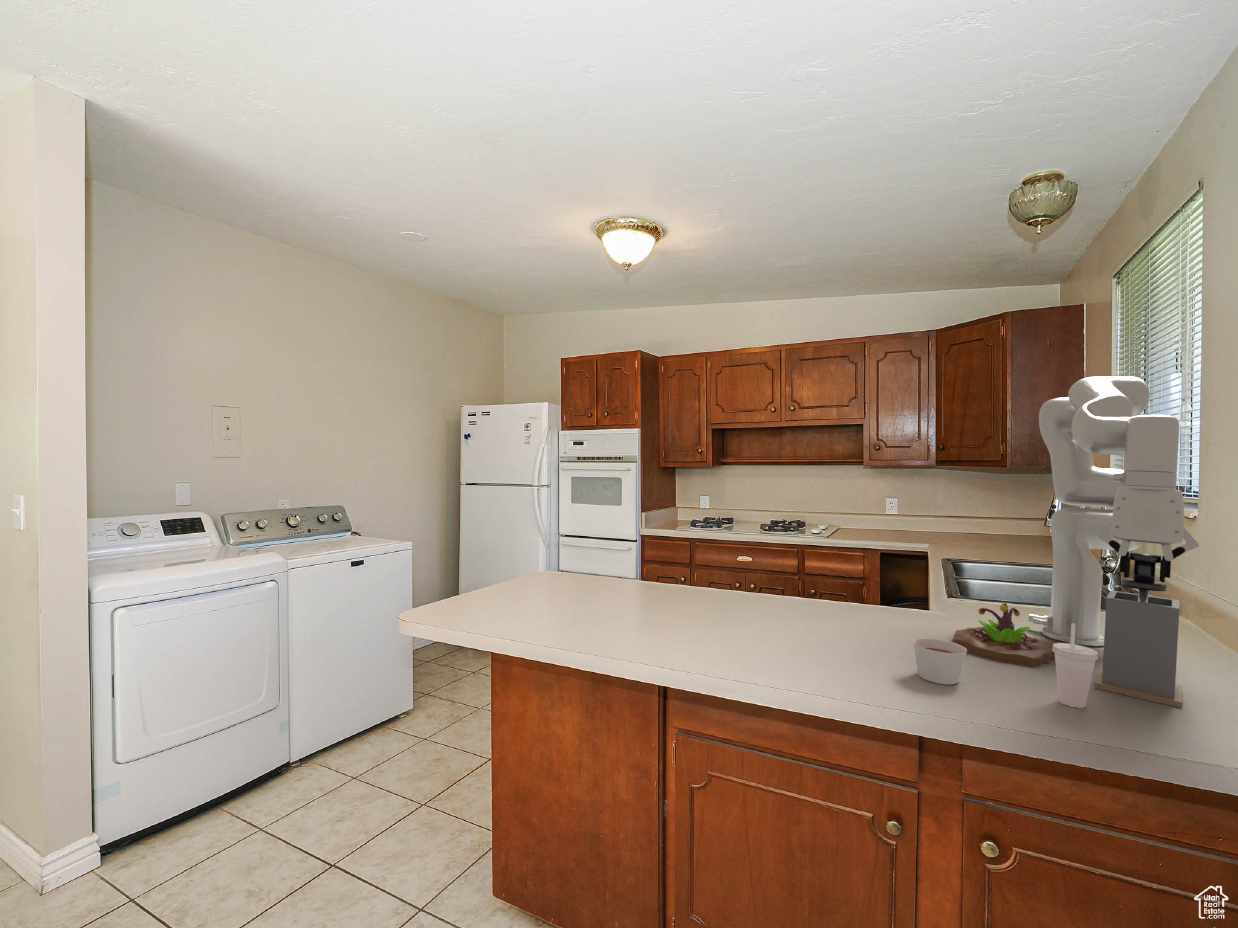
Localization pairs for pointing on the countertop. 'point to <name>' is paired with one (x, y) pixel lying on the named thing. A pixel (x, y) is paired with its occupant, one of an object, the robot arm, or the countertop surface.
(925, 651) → the candle
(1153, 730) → the countertop surface
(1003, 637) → the plant
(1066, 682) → the smoothie
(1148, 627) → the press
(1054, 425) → the robot arm
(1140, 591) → the plunger
